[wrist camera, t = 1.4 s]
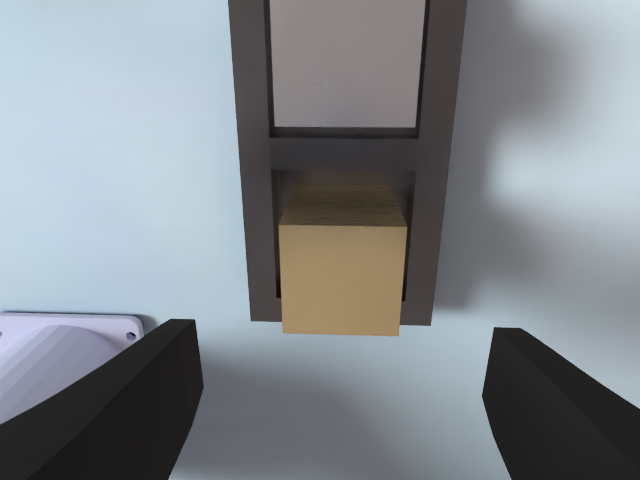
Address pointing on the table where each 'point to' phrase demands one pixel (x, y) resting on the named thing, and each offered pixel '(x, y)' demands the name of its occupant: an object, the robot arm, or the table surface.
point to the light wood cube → (342, 260)
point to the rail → (344, 155)
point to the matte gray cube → (346, 62)
